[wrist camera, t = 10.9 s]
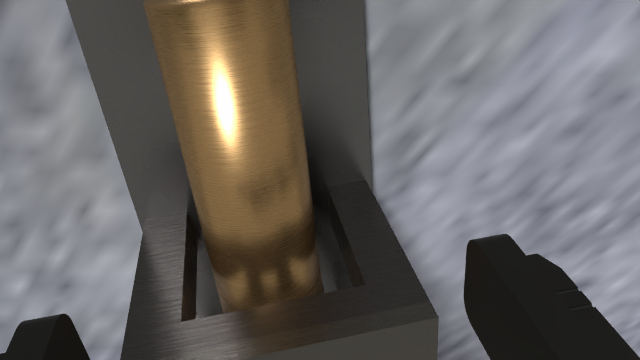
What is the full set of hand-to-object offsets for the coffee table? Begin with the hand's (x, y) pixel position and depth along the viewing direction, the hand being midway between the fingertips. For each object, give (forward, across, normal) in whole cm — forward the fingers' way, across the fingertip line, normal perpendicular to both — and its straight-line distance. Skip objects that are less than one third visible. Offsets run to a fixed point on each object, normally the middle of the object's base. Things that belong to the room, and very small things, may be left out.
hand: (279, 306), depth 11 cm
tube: (+14, 0, +7) cm, 16 cm away
